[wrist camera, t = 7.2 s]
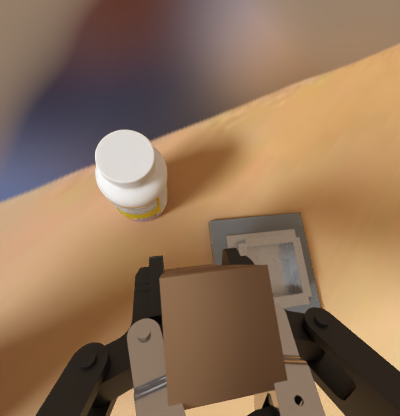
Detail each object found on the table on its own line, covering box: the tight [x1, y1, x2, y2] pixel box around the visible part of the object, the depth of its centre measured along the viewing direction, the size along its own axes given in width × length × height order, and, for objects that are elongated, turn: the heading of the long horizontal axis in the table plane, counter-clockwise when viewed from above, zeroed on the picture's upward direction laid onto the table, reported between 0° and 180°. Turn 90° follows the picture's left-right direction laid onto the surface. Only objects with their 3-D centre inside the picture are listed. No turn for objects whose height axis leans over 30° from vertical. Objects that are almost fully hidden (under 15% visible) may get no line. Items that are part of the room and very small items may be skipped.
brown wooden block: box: [159, 265, 288, 410], centre depth 12 cm, size 4×4×11 cm
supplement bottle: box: [95, 130, 168, 222], centre depth 25 cm, size 7×7×13 cm
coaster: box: [209, 213, 321, 313], centre depth 30 cm, size 13×14×1 cm
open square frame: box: [225, 229, 312, 308], centre depth 28 cm, size 10×10×3 cm
